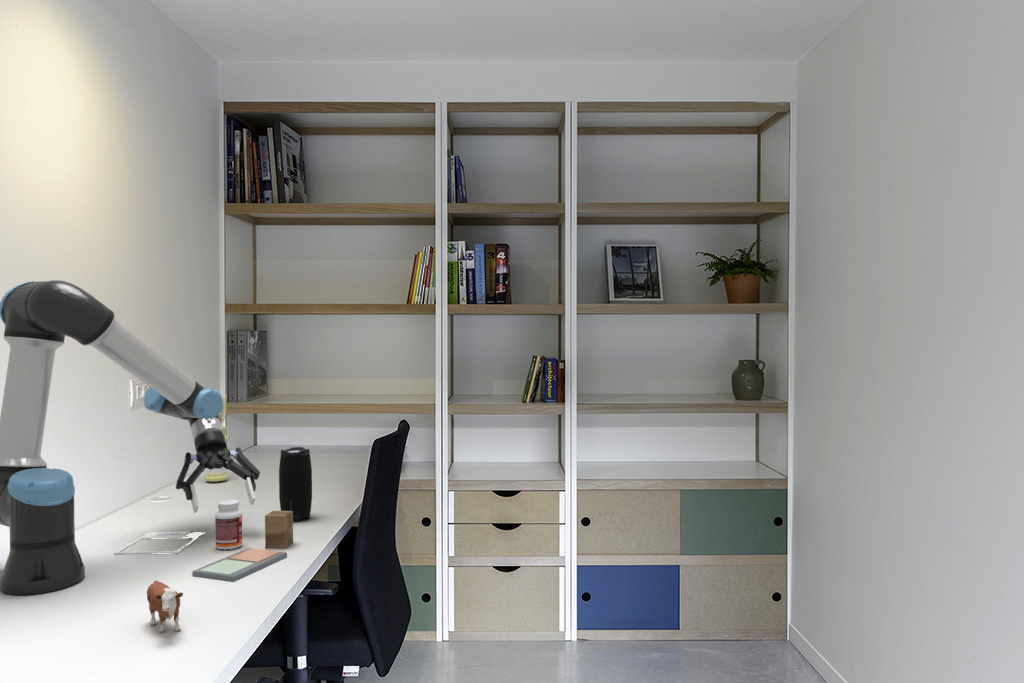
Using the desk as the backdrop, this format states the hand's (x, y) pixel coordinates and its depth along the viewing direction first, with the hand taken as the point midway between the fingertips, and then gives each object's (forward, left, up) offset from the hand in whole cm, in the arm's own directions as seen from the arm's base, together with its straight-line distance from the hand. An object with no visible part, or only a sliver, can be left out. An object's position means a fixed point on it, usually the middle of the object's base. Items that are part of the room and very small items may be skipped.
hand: (225, 505), depth 188 cm
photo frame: (-5, +15, -10) cm, 19 cm away
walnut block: (+3, -14, -9) cm, 17 cm away
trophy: (+60, +56, -10) cm, 82 cm away
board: (-13, -16, -9) cm, 23 cm away
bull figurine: (-46, -27, -10) cm, 55 cm away
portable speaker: (+26, -2, -10) cm, 27 cm away
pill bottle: (-2, -3, -10) cm, 10 cm away
